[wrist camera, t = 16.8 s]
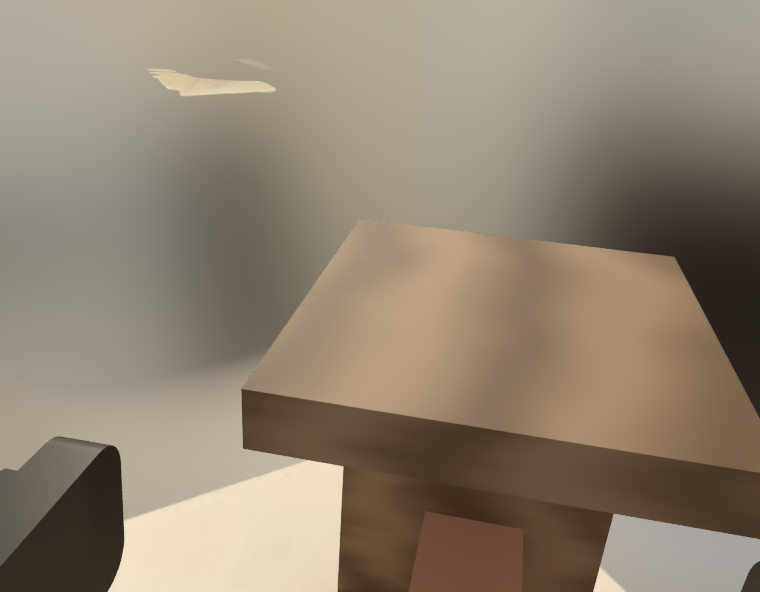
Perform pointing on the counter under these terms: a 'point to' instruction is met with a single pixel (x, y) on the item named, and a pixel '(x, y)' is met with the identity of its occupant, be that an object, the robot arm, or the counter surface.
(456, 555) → the tall terracotta pillar
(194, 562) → the counter surface
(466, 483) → the shelf
